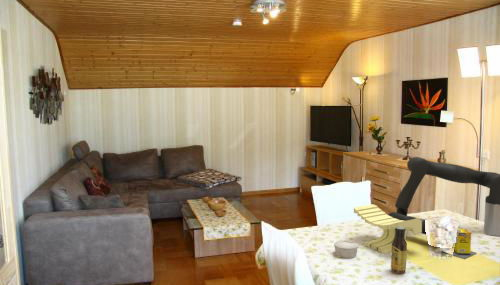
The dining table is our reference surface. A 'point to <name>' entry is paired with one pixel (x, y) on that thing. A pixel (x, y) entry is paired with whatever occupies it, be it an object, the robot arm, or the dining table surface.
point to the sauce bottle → (399, 251)
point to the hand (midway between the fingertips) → (454, 234)
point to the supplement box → (463, 242)
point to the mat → (464, 255)
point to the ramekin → (346, 249)
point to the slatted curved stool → (385, 226)
